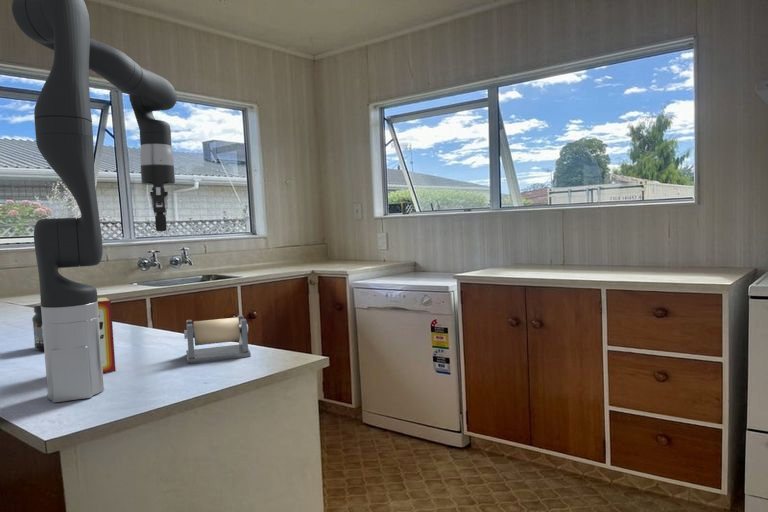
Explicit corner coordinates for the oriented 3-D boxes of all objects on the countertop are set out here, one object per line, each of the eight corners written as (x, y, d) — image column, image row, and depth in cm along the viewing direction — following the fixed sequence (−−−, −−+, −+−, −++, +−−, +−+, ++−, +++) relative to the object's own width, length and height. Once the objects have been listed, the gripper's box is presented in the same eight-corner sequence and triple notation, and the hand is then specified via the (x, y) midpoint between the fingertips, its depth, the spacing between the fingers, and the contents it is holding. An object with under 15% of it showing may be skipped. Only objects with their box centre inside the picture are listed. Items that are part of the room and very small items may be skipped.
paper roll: (245, 326, 133) (246, 311, 130) (248, 344, 130) (249, 330, 126) (184, 332, 128) (183, 317, 124) (185, 351, 124) (184, 336, 121)
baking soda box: (112, 365, 123) (107, 295, 122) (115, 371, 117) (110, 298, 116) (64, 372, 118) (59, 300, 117) (65, 379, 112) (59, 303, 111)
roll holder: (250, 356, 126) (248, 320, 125) (187, 364, 121) (185, 326, 120) (245, 347, 135) (243, 314, 135) (186, 354, 130) (184, 319, 130)
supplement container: (73, 341, 151) (70, 299, 151) (85, 346, 144) (82, 302, 143) (30, 348, 144) (26, 304, 143) (40, 354, 137) (36, 307, 136)
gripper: (173, 161, 125) (178, 230, 126) (174, 167, 139) (177, 230, 140) (138, 161, 123) (143, 232, 124) (142, 167, 136) (146, 231, 137)
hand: (161, 231), depth 132 cm, fingers open, 8 cm apart
